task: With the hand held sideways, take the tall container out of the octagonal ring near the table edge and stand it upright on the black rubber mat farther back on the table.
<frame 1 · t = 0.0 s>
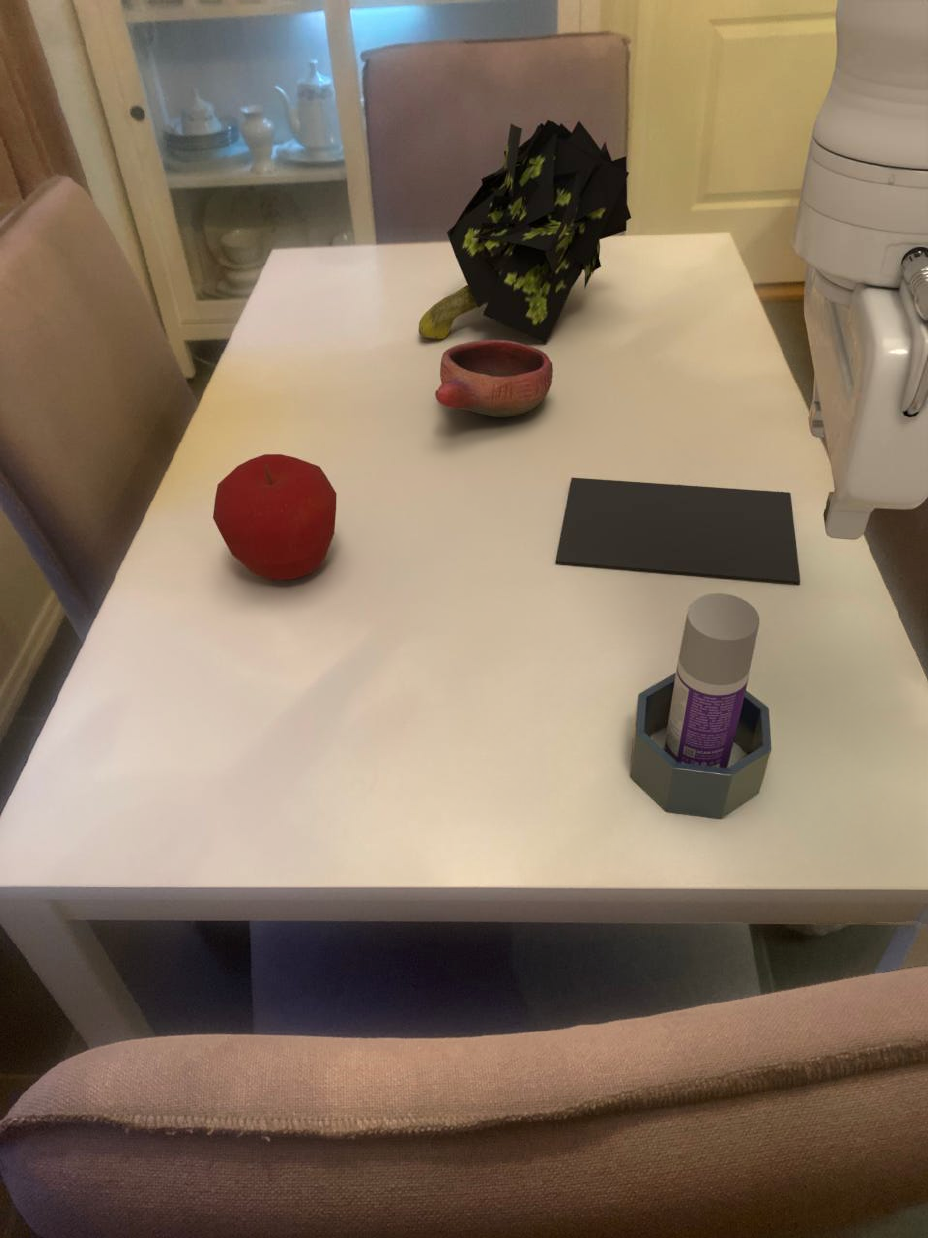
hand: (831, 477, 49), 26 cm above the table, tool pointing down, fingers open, 8 cm apart
octagonal ring: (694, 764, 68), on the table
apple: (290, 569, 88), on the table
container: (693, 766, 68), resting in octagonal ring
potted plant: (513, 319, 125), on the table
mat: (676, 528, 89), on the table
bowl: (496, 417, 106), on the table
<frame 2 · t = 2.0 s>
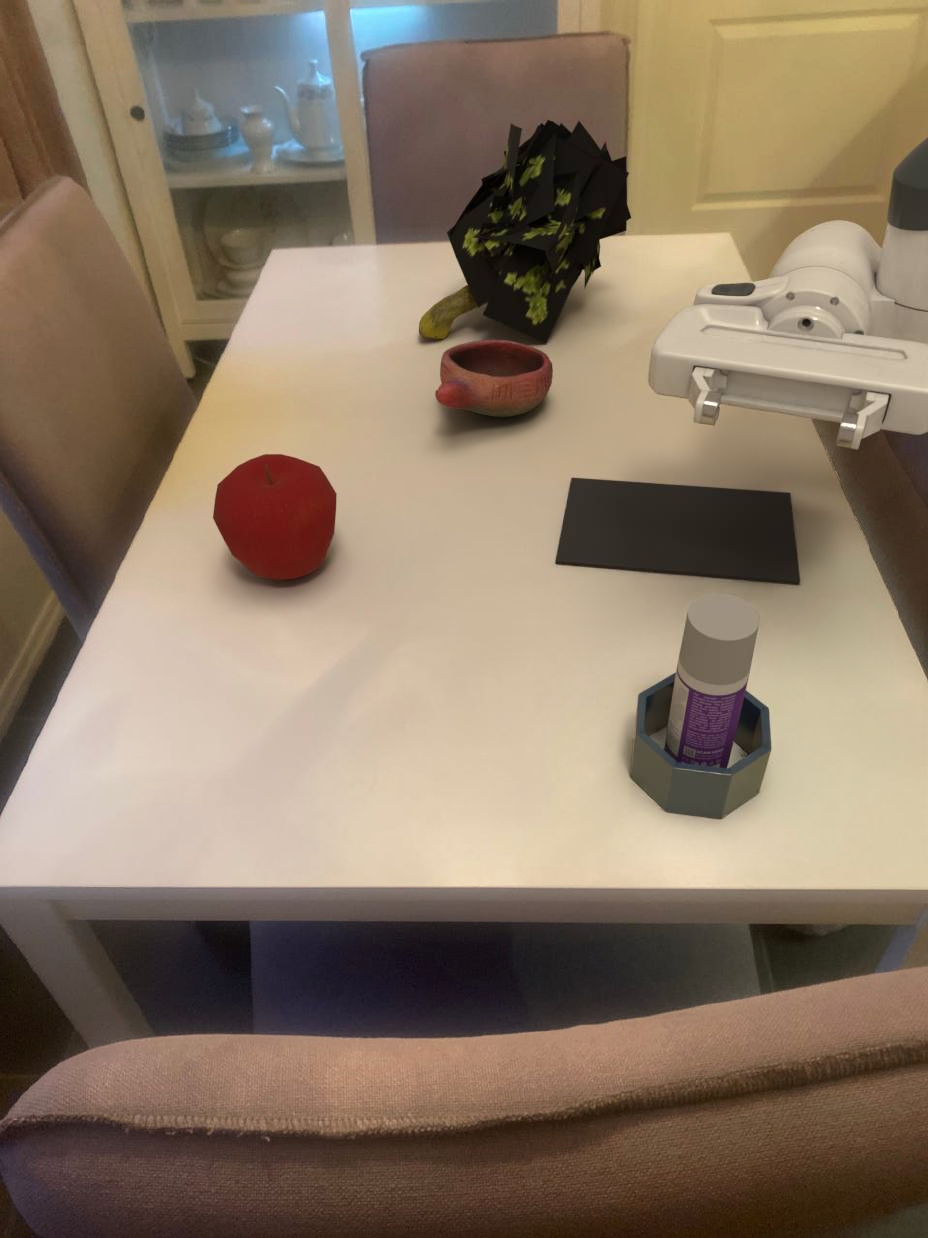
hand: (775, 426, 61), 22 cm above the table, tool horizontal, fingers open, 8 cm apart
nothing on the table moved.
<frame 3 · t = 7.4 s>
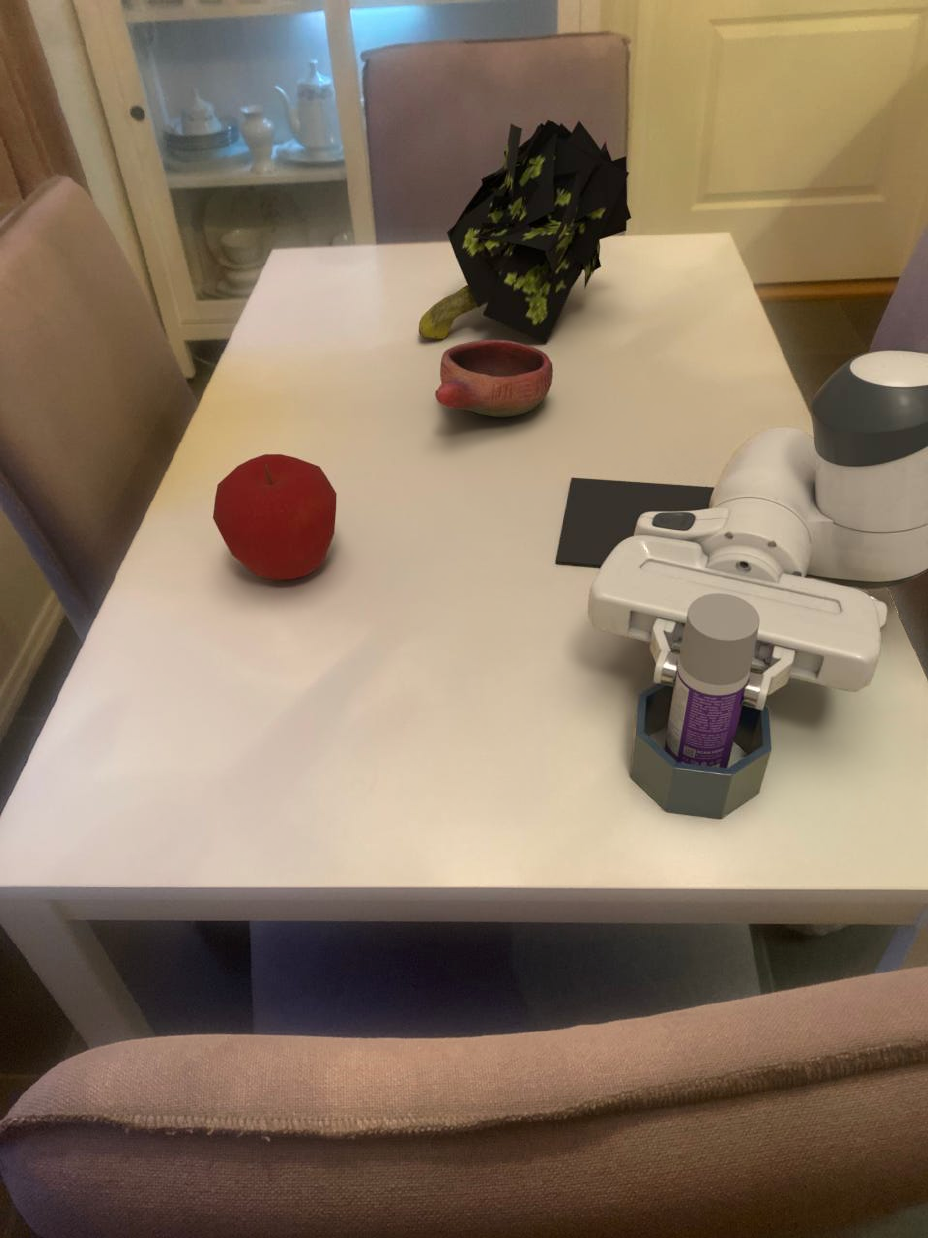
hand: (707, 689, 61), 9 cm above the table, tool horizontal, fingers closed on container, 4 cm apart
container: (693, 766, 68), resting in octagonal ring, touching gripper
everything else where it was.
when the fingers open (9 cm above the table, at t = 16.5 s): container stays where it is, resting on mat.
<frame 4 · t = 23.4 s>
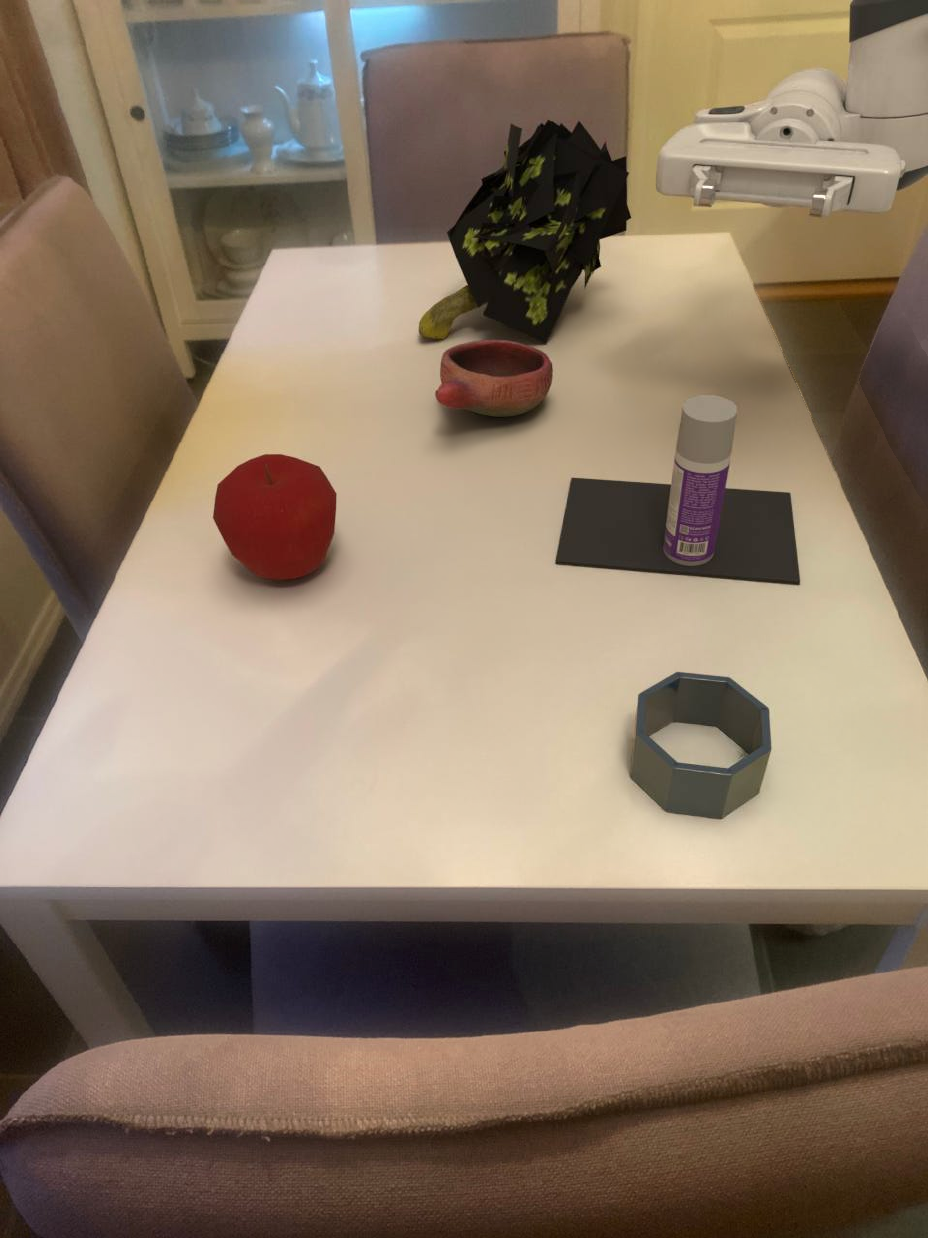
hand: (760, 202, 75), 28 cm above the table, tool horizontal, fingers open, 8 cm apart
container: (688, 552, 86), resting on mat
everything else where it was.
at the end: container inside the target area on the mat (4.0 cm from its centre), point 0.2 cm above the mat's base; container tilted 0°; the gripper is holding nothing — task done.
